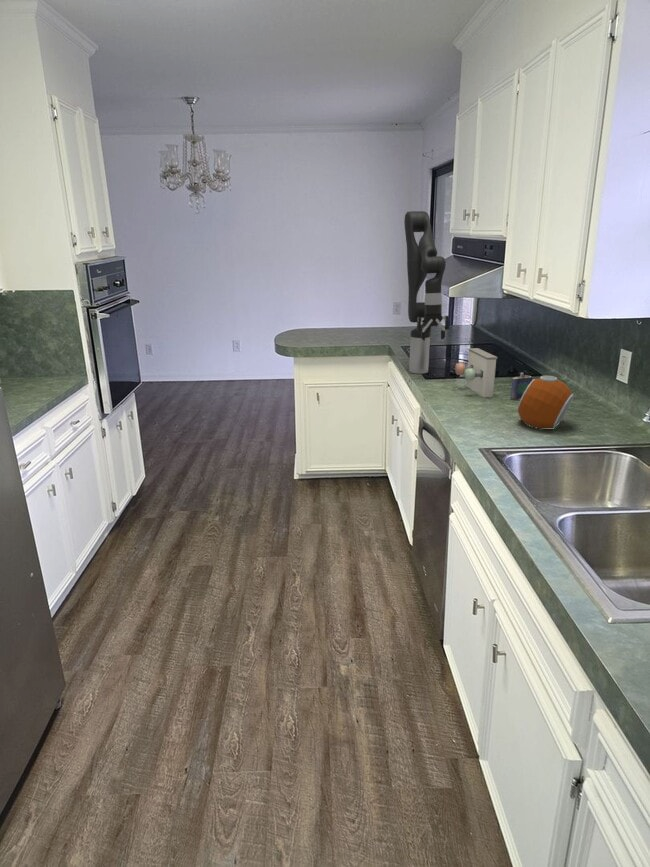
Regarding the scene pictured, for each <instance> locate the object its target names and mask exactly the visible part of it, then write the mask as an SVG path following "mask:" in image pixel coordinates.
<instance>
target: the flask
mask: <svg viewBox="0 0 650 867" xmlns="http://www.w3.org/2000/svg"><path fill="white" fill-rule="evenodd" d="M519 374H520V375H519V376H515V377H511V385H510V386H511V388H510V396H509V398H510V400H512V399H513V400H514V399H517V400H520V399H519V398H521V397H522V395H523V393H524V392H525V390H526V388H527V387H528V385H529V384H530V382H531V381H532V380H533V377H532V376H531V375H528V374H527V375H526V374H525V375H524V372H520V373H519Z"/></svg>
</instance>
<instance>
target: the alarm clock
mask: <svg viewBox="0 0 650 867" xmlns="http://www.w3.org/2000/svg"><path fill="white" fill-rule="evenodd" d="M573 399H574V394H573V393H572V390H571V389H570V387H568V385H566V383H565V382H563V381H561V380H559V379H558V377H557V376H555V375H541V376H540V377H539V378H534V379H533V378H532V381H531V382H530V384H529V385H528V387H527V388H526V390H525V392H524V393H523V395H522V397H521V399H519V402H518V405H517V408H516V411H517V413H518V415H519V417H520V419H521V420H522V421H523V422H524V424H527V425H526V426H528V425H530V426H532V427H531V428H533V427H537V428H555V427H556V425H557V424H558V423H559V422H560V421H561V422H562V421H563V419H564V418H565V416H566V414H567V412H568V410H569V408H570V407H571V404H572V401H573ZM530 426H529V427H530ZM537 428H536V429H537ZM556 428H557V427H556ZM556 428H555V429H556Z"/></svg>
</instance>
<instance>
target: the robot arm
mask: <svg viewBox="0 0 650 867" xmlns="http://www.w3.org/2000/svg"><path fill="white" fill-rule="evenodd" d="M404 233H405V242H406V266H407V269H406V270H407V285H408V286H407V287H408V297H407V299H408V301H407V302H408V304H407V308H408V309H407V313H408V314H407V316H408V320H409V322H410V323H416V328H413V329H411V331H410V339H409V340H410V343H409V344H410V345H409V365H408V366H409V367H408V371H409V373H411V374H418V375H419V374H421V375H422V374H427V373H428V372H429V364H430V344H431V342H430V341H431V331H432V327H439V329H440V339H441V340H445V338H446V331H447V330H450V318H449V316H448V315H444V316H443V315H442V312H443V311H442V309H443V308H442V307H443V305H442V304H443V300H442V298H443V297H442V282H443V277H444V273H445V270H446V263H447V262H446V259H445V258H444V257H443V256H442V255H438V250H437V247H436V244H435V243H434V238H433V232H432V225H431V219H430V215H429V214H428V212H426V211H423V210H421V211H419V210H417V211H415V210H414V211H406V213H405V215H404ZM415 233H422V236H421V238H420V239H419V241H418V242H417V240H416V236H415ZM428 274H435V275H434V277H432V278H427V279H426V277H427V275H428ZM424 283H425V284H424ZM423 284H424V302H418V301H417V300H418V299H417V298H418V293H419V291H420V288H421V287H422V285H423ZM442 320H443V321H444V325H443V324H442Z"/></svg>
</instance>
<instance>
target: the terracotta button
mask: <svg viewBox="0 0 650 867" xmlns="http://www.w3.org/2000/svg"><path fill="white" fill-rule="evenodd" d="M469 368H473V366H468V365H465V363H463V362H460V363H459V362H458V363H457V362H456V364H455V367H454V370H455V374H456V375H457V376H464V372H465V369H469Z"/></svg>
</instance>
